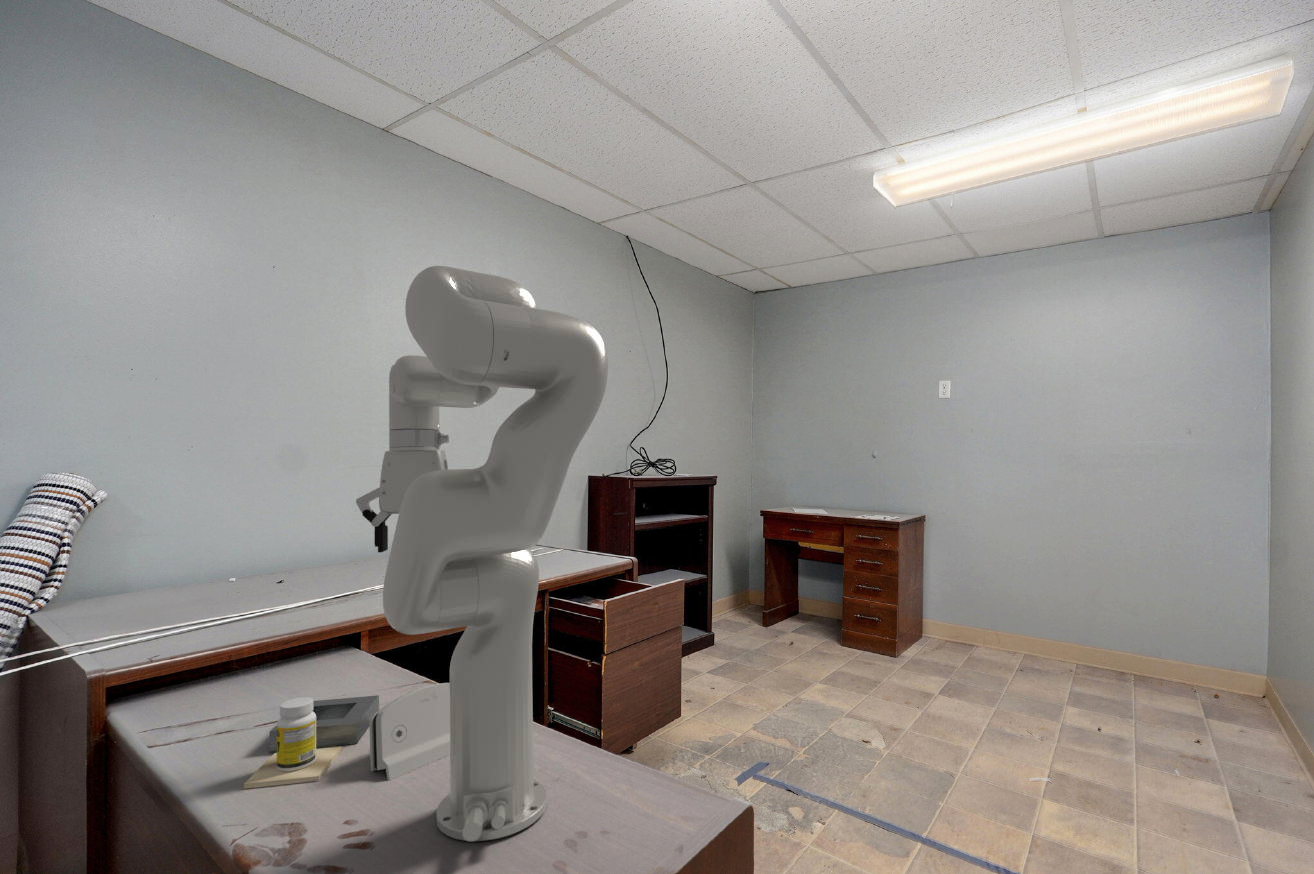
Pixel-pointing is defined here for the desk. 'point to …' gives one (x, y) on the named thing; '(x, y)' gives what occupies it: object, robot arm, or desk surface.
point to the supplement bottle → (296, 735)
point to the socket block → (339, 721)
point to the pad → (273, 776)
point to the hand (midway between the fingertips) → (415, 549)
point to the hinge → (411, 731)
